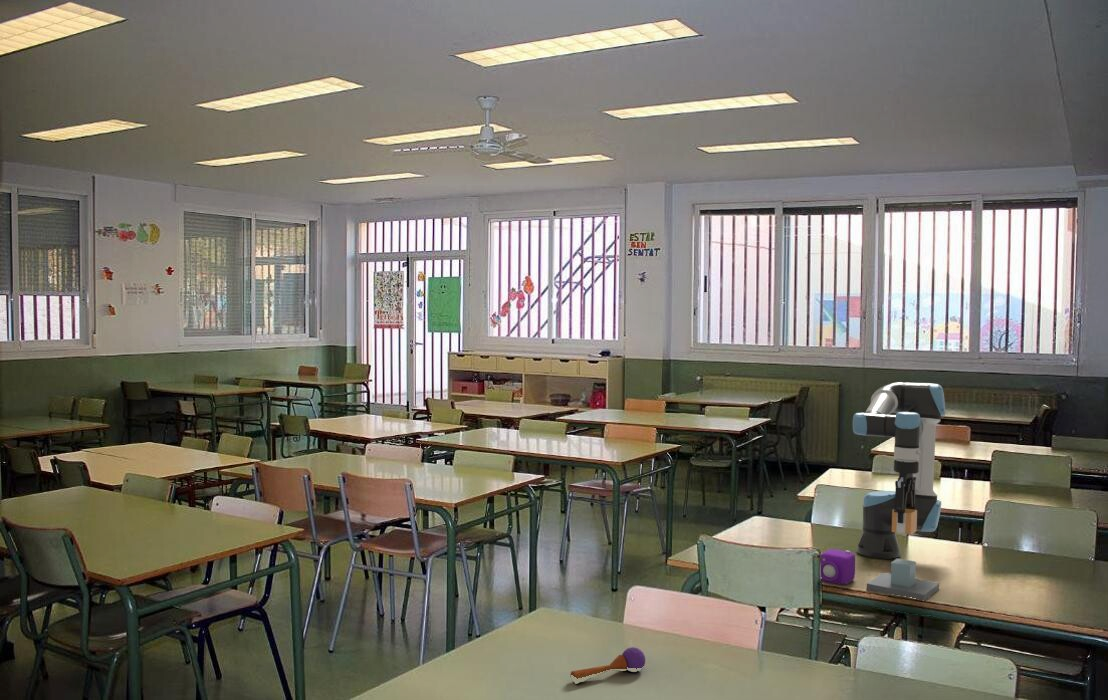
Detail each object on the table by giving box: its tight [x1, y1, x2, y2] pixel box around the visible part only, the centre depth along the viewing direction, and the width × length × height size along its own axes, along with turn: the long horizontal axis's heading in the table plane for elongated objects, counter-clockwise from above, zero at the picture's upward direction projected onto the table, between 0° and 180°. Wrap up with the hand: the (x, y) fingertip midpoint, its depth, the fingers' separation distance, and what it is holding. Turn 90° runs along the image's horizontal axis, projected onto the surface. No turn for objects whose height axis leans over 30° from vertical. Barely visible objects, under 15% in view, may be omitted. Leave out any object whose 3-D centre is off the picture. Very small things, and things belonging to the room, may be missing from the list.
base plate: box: [866, 572, 940, 602], centre depth 291 cm, size 18×16×2 cm
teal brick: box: [890, 558, 917, 587], centre depth 291 cm, size 6×6×7 cm
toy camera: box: [820, 548, 856, 585], centre depth 298 cm, size 11×14×10 cm
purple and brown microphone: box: [570, 646, 646, 679], centre depth 218 cm, size 6×6×20 cm
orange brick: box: [892, 509, 917, 535], centre depth 290 cm, size 6×6×7 cm
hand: (904, 530), depth 290 cm, fingers closed on orange brick, 6 cm apart
